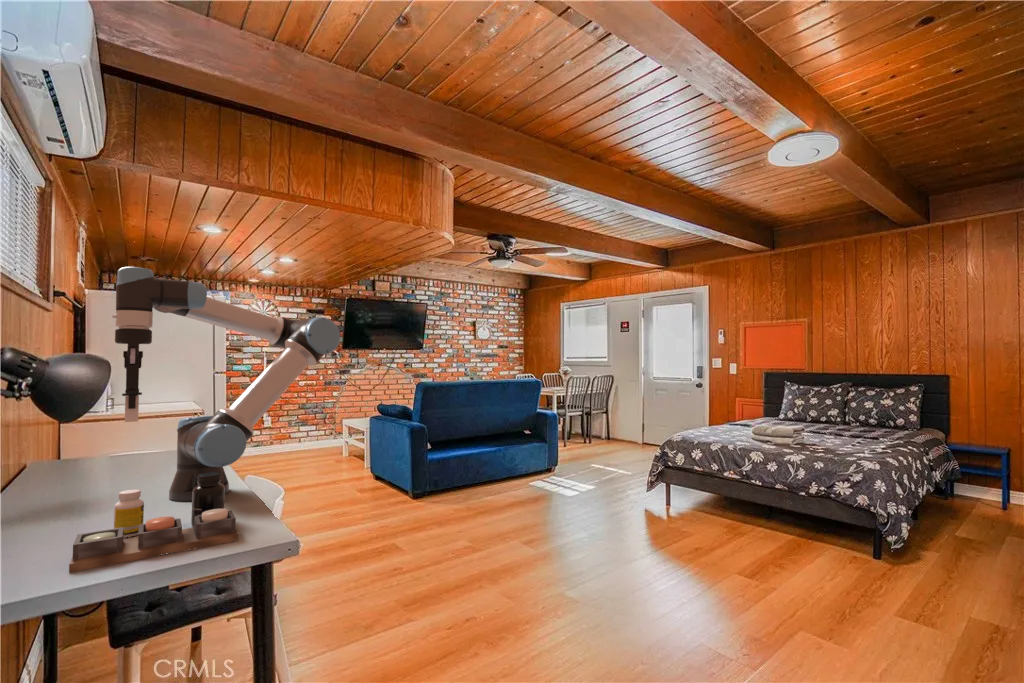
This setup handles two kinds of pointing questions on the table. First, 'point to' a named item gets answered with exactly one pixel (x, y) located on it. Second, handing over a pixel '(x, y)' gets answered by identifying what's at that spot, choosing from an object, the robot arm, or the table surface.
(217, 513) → the peach rounded block
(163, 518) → the terracotta button
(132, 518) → the supplement bottle
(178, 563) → the table surface
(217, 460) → the robot arm
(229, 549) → the table surface
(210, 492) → the supplement bottle
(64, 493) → the table surface
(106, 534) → the sage button
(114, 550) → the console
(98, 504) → the table surface
